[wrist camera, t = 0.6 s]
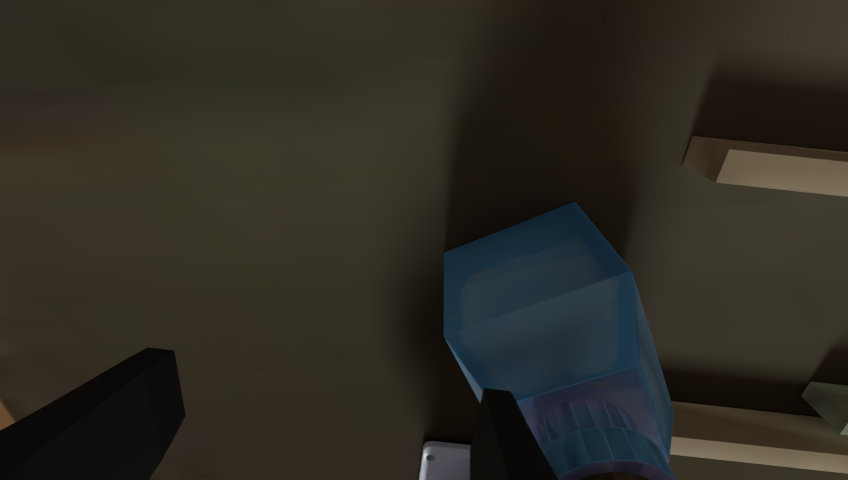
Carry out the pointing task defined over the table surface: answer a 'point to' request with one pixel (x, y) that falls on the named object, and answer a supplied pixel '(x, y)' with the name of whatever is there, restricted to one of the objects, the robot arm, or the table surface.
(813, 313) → the table surface
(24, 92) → the table surface
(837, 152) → the walled pen
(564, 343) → the perfume bottle
